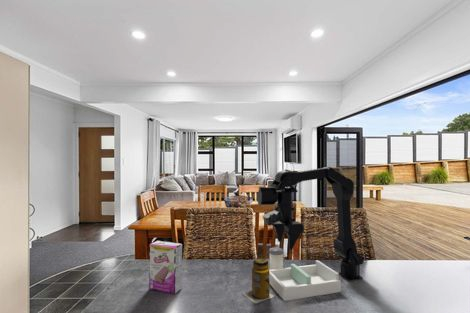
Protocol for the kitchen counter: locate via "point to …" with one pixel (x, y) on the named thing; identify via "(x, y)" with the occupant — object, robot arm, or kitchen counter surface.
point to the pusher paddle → (300, 275)
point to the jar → (276, 258)
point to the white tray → (290, 289)
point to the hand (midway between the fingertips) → (284, 245)
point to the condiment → (259, 281)
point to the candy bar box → (165, 267)
